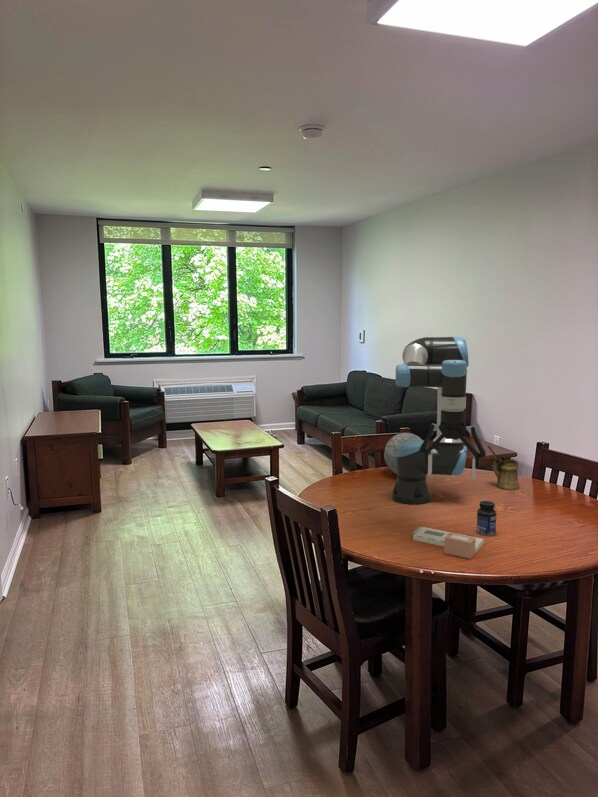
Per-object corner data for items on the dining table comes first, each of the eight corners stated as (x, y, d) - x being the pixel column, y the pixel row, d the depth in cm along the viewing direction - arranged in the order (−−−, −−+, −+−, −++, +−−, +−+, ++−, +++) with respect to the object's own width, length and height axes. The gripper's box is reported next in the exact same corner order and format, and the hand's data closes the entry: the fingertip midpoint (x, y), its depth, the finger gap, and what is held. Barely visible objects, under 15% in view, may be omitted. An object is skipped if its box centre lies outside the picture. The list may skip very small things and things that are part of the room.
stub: (444, 553, 172) (444, 537, 172) (449, 548, 176) (449, 532, 175) (470, 559, 168) (470, 542, 167) (474, 553, 172) (475, 537, 171)
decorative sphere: (376, 472, 266) (376, 431, 263) (412, 468, 273) (412, 427, 271) (398, 483, 248) (399, 439, 245) (436, 478, 255) (437, 435, 252)
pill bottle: (493, 539, 185) (494, 507, 183) (474, 536, 188) (475, 504, 186) (497, 533, 190) (498, 501, 188) (479, 530, 193) (480, 498, 192)
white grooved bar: (413, 540, 183) (413, 535, 183) (423, 531, 190) (423, 526, 190) (475, 553, 172) (475, 548, 172) (483, 543, 180) (483, 538, 179)
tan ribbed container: (484, 483, 247) (485, 443, 245) (516, 484, 245) (518, 443, 243) (487, 489, 238) (489, 447, 236) (521, 490, 236) (523, 448, 234)
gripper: (410, 409, 178) (409, 475, 181) (494, 413, 168) (491, 482, 171) (415, 406, 185) (414, 469, 188) (496, 410, 175) (493, 476, 178)
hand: (451, 476), depth 179 cm, fingers open, 13 cm apart
